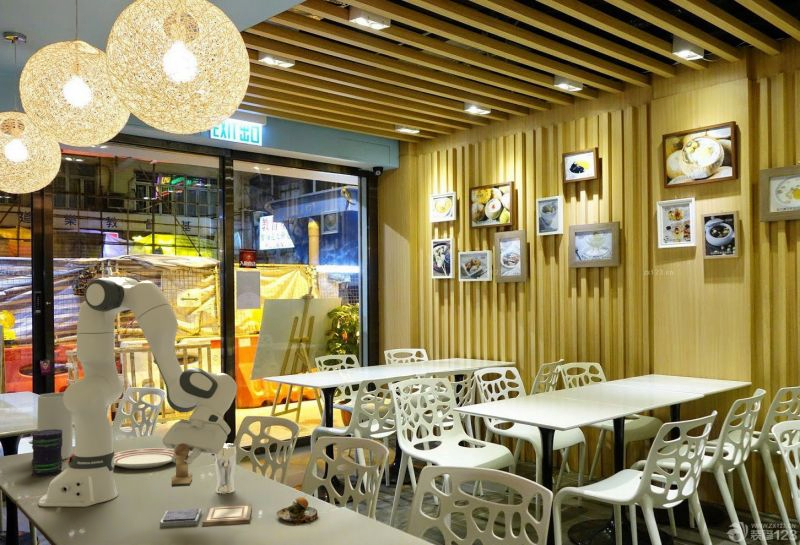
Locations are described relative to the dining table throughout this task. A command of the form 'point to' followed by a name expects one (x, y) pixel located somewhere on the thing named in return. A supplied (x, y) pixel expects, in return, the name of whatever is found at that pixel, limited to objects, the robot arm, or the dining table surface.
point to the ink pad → (180, 518)
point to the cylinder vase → (56, 419)
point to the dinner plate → (143, 458)
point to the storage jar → (47, 453)
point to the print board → (227, 515)
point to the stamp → (181, 467)
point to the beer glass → (225, 468)
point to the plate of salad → (298, 512)
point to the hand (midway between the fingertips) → (180, 462)
